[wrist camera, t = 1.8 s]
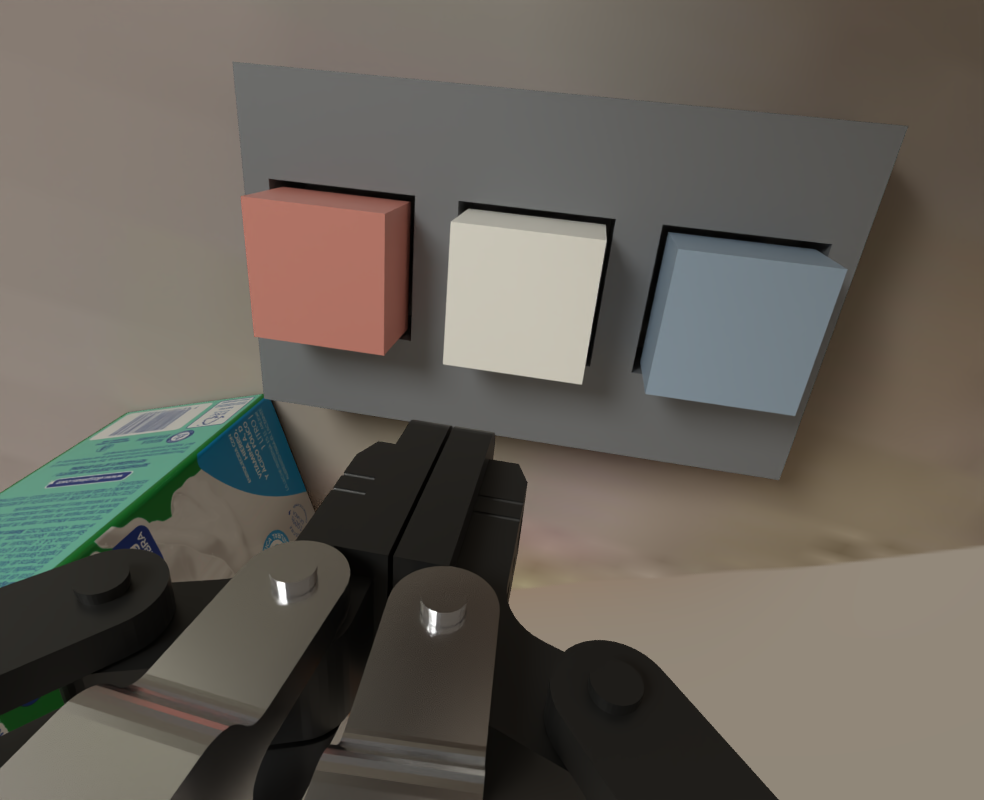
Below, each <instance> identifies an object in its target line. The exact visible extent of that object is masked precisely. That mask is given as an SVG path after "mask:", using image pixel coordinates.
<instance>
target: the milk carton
mask: <svg viewBox="0 0 984 800" xmlns="http://www.w3.org/2000/svg"><path fill="white" fill-rule="evenodd" d="M314 514H315V511H314V509H313V506H312V504H311V501H310V499H309V496H308V494H307V491H306V488H305V486H304V483H303V481H302V478H301V476H300V473H299V471H298V468H297V465H296V463H295V460H294V458H293V455H292V453H291V450H290V448H289V445H288V442H287V440H286V437H285V435H284V432H283V430H282V427H281V425H280V422H279V419H278V417H277V414H276V412H275V409H274V407H273V404H272V402H271V400H270V399H264V394H260V395H253V396H245V397H238V398H230V399H223V400H216V401H208V402H201V403H194V404H186V405H179V406H172V407H164V408H157V409H150V410H142V411H135V412H128V413H126V414H124V415H122V416H121V417H119V418H118V419H116V420H114V421H113V422H111V423H110V424H108V425H107V426H105V427H103V428H102V429H100V430H99V431H97V432H96V433H94V434H92V435H91V436H89V437H88V438H86V439H84V440H83V441H81V442H80V443H78V444H77V445H75V446H73V447H72V448H70V449H69V450H67V451H66V452H64V453H62V454H61V455H59V456H58V457H56V458H54V459H53V460H51V461H50V462H48V463H47V464H45V465H43V466H42V467H40V468H39V469H37V470H35V471H34V472H32V473H31V474H29V475H28V476H26V477H24V478H23V479H21V480H20V481H18V482H17V483H15V484H13V485H12V486H10V487H9V488H7V489H5V490H4V491H2V492H1V493H0V587H3V586H6V585H9V584H12V583H14V582H17V581H20V580H23V579H26V578H29V577H31V576H34V575H37V574H40V573H43V572H46V571H48V570H51V569H54V568H57V567H60V566H62V565H65V564H68V563H71V562H74V561H77V560H79V559H82V558H85V557H88V556H91V555H94V554H97V553H101V552H105V551H110V550H117V549H142V550H146V551H150V552H153V553H155V554H157V555H159V556H160V557H162V558H163V559H164V560H165V562H166V563H167V565H168V568H169V571H170V576H171V581H172V582H186V581H202V580H218V579H228V578H233V577H234V576H235V574H236V573H237V572H238V571H239V570H240V569H241V568H242V567H243V566H244V565H245V564H246V563H247V562H248V561H249V560H250V559H251V558H252V557H254V556H255V555H256V554H258V553H260V552H261V551H263V550H265V549H267V548H270V547H272V546H275V545H278V544H281V543H285V542H291V541H295V540H296V539H297V537H298V536H299V535H300V533H301V532H302V530H303V529H304V528H305V526H306V525H307V523H308V522H309V521H310V519H311V518H312V516H313V515H314ZM62 706H64V702H63V699H62V696H61V694H60V691H59V689H57V690H54V691H52V692H50V693H48V694H46V695H44V696H41V697H39V698H37V699H35V700H33V701H31V702H28V703H26V704H24V705H22V706H20V707H18V708H15V709H13V710H11V711H9V712H7V713H5V714H3V715H0V736H2V735H4V734H6V733H8V732H10V731H13V730H15V729H17V728H19V727H21V726H23V725H25V724H27V723H29V722H31V721H33V720H35V719H38V718H40V717H42V716H44V715H46V714H48V713H50V712H52V711H54V710H56V709H58V708H60V707H62Z"/></svg>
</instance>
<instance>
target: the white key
mask: <svg viewBox="0 0 984 800" xmlns="http://www.w3.org/2000/svg"><path fill="white" fill-rule="evenodd" d="M606 242H607V237H606V224H597V223H589V222H580V221H572V220H563V219H555V218H546V217H538V216H529V215H521V214H512V213H504V212H495V211H487V210H478V209H470V208H469V209H467V210H466V211H465V212H463V213H462V214H461V215H459V216H458V217H456V218H455V219H454V220H452V221H451V226H450V244H449V262H448V280H447V298H446V316H445V335H444V353H443V364H444V365H451V366H458V367H465V368H472V369H478V370H485V371H492V372H499V373H506V374H512V375H519V376H526V377H533V378H540V379H547V380H553V381H560V382H567V383H574V384H581V385H582V381H583V376H584V370H585V364H586V358H587V352H588V346H589V341H590V335H591V329H592V323H593V317H594V312H595V306H596V300H597V294H598V288H599V282H600V277H601V271H602V265H603V259H604V253H605V247H606Z"/></svg>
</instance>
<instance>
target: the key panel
mask: <svg viewBox="0 0 984 800" xmlns="http://www.w3.org/2000/svg"><path fill="white" fill-rule="evenodd" d="M233 72H234V83H235V94H236V104H237V115H238V126H239V136H240V147H241V158H242V168H243V179H244V189H245V195H249V194H253V193H257V192H262V191H266V190H270V189H275V188H279V187H291V188H300V189H308V190H317V191H325V192H334V193H342V194H351V195H359V196H368V197H376V198H385V199H393V200H402V201H410V202H411V214H410V253H409V293H408V329H407V330H406V331H405V332H404V334H403V335H402V336H401V337H400V338H399V339H398V340H397V341H396V343H395V344H394V345H393V346H392V347H391V348H390V349H389V350H388V352H387V353H386V354H385V355H384V356H383V355H376V354H369V353H363V352H356V351H349V350H342V349H335V348H328V347H322V346H315V345H308V344H301V343H294V342H288V341H281V340H274V339H267V338H260V337H258V339H259V349H260V360H261V371H262V381H263V392H264V399H270V400H276V401H282V402H289V403H295V404H301V405H308V406H314V407H320V408H327V409H333V410H339V411H346V412H352V413H358V414H364V415H371V416H377V417H383V418H390V419H396V420H402V421H409V422H410V421H411V420H413V419H414V420H420V421H426V422H433V423H439V424H445V425H452V426H453V427H454V426H459V427H465V428H472V429H478V430H484V431H491V432H495V435H497V436H504V437H510V438H516V439H522V440H529V441H535V442H541V443H548V444H554V445H560V446H567V447H573V448H579V449H586V450H592V451H598V452H605V453H611V454H617V455H624V456H630V457H636V458H643V459H649V460H655V461H662V462H668V463H674V464H681V465H687V466H693V467H699V468H706V469H712V470H718V471H725V472H731V473H737V474H744V475H750V476H756V477H763V478H769V479H775V480H779V479H780V476H781V474H782V471H783V468H784V465H785V463H786V460H787V457H788V454H789V452H790V449H791V446H792V443H793V441H794V438H795V435H796V432H797V430H798V427H799V424H800V421H801V419H802V416H803V413H804V411H805V408H806V405H807V402H808V400H809V397H810V394H811V391H812V389H813V386H814V383H815V380H816V378H817V375H818V372H819V369H820V367H821V364H822V361H823V358H824V356H825V353H826V350H827V347H828V345H829V342H830V339H831V336H832V334H833V331H834V328H835V325H836V323H837V320H838V317H839V314H840V312H841V309H842V306H843V304H844V301H845V298H846V295H847V293H848V290H849V287H850V284H851V282H852V279H853V276H854V273H855V271H856V268H857V265H858V262H859V260H860V257H861V254H862V251H863V249H864V246H865V243H866V240H867V238H868V235H869V232H870V229H871V227H872V224H873V221H874V218H875V216H876V213H877V210H878V208H879V205H880V202H881V199H882V197H883V194H884V191H885V188H886V186H887V183H888V180H889V177H890V175H891V172H892V169H893V166H894V164H895V161H896V158H897V155H898V153H899V150H900V147H901V144H902V142H903V139H904V136H905V133H906V131H907V128H908V126H903V125H892V124H882V123H871V122H861V121H850V120H840V119H829V118H819V117H808V116H798V115H787V114H777V113H766V112H755V111H745V110H734V109H724V108H713V107H703V106H692V105H682V104H671V103H661V102H650V101H640V100H629V99H619V98H608V97H598V96H587V95H577V94H566V93H556V92H545V91H535V90H524V89H513V88H503V87H492V86H482V85H471V84H461V83H450V82H440V81H429V80H419V79H408V78H398V77H387V76H377V75H366V74H356V73H345V72H335V71H324V70H314V69H303V68H293V67H282V66H271V65H261V64H250V63H240V62H233ZM469 208H470V209H478V210H487V211H495V212H504V213H512V214H521V215H529V216H538V217H546V218H555V219H563V220H572V221H580V222H589V223H597V224H606V237H607V242H606V247H605V253H604V259H603V265H602V271H601V277H600V282H599V288H598V294H597V300H596V306H595V312H594V317H593V323H592V329H591V335H590V341H589V346H588V352H587V358H586V364H585V370H584V376H583V381H582V385H581V384H574V383H567V382H560V381H553V380H547V379H540V378H533V377H526V376H519V375H512V374H506V373H499V372H492V371H485V370H478V369H472V368H465V367H458V366H451V365H444V364H443V353H444V335H445V316H446V298H447V280H448V262H449V244H450V226H451V221H452V220H454V219H455V218H456V217H458V216H459V215H461V214H462V213H463V212H465V211H466V210H467V209H469ZM668 232H674V233H682V234H691V235H699V236H708V237H716V238H725V239H733V240H742V241H750V242H759V243H767V244H776V245H784V246H793V247H801V248H810V249H816V250H817V251H819V252H821V253H822V254H824V255H825V256H827V257H829V258H830V259H832V260H833V261H835V262H837V263H838V264H840V265H841V266H843V267H844V268H846V269H848V270H847V273H846V275H845V278H844V281H843V284H842V286H841V289H840V292H839V295H838V298H837V300H836V303H835V306H834V309H833V312H832V314H831V317H830V320H829V323H828V326H827V328H826V331H825V334H824V337H823V340H822V342H821V345H820V348H819V351H818V353H817V356H816V359H815V362H814V365H813V367H812V370H811V373H810V376H809V379H808V381H807V384H806V387H805V390H804V393H803V395H802V398H801V401H800V404H799V407H798V409H797V412H796V415H795V416H792V415H785V414H778V413H771V412H765V411H758V410H751V409H744V408H737V407H731V406H724V405H717V404H710V403H703V402H696V401H690V400H683V399H676V398H669V397H662V396H656V395H649V394H645V389H644V382H643V376H642V370H641V364H640V360H641V355H642V351H643V346H644V342H645V337H646V332H647V328H648V323H649V318H650V314H651V309H652V305H653V300H654V295H655V291H656V286H657V281H658V277H659V272H660V267H661V263H662V258H663V254H664V249H665V244H666V240H667V235H668Z"/></svg>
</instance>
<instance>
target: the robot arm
mask: <svg viewBox="0 0 984 800" xmlns="http://www.w3.org/2000/svg"><path fill="white" fill-rule="evenodd" d="M494 445H495V432H491V431H484V430H478V429H472V428H465V427H459V426H454V427H453V426H452V425H445V424H439V423H433V422H426V421H420V420H414V419H413V420H411V421H410V422H409V424H408V425H407V427H406V429H405V430H404V432H403V434H402V435H401V437H400V438H399V440H398V442H397V443H396V444H391V443H385V442H379V441H378V442H377V443H375V444H373V445H372V446H370V447H368V448H367V449H365V450H363V451H362V452H360V453H358V454H357V455H356V456H355V457H354V459H353V460H352V462H351V463H350V465H349V466H348V467H347V469H346V470H345V472H344V476H343V475H342V476H341V477H340V479H339V480H338V481H337V483H336V484H335V486H334V489H333V490H331V491H330V493H329V494H328V495H327V497H326V498H325V500H324V501H323V502H322V504H321V505H320V507H319V508H318V509H317V511H316V512H315V514H314V515H313V516H312V518H311V519H310V521H309V522H308V523H307V525H306V526H305V528H304V529H303V530H302V532H301V533H300V535H299V536H298V537H297V539H296V540H295V541H291V542H285V543H281V544H278V545H275V546H272V547H270V548H267V549H265V550H263V551H261V552H260V553H258V554H256V555H255V556H254V557H252V558H251V559H250V560H249V561H248V562H247V563H246V564H245V565H244V566H243V567H242V568H241V569H240V570H239V571H238V572H237V573H236V574H235V576H234V577H233V578H228V579H218V580H202V581H186V582H172V581H171V576H170V571H169V568H168V565H167V563H166V562H165V560H164V559H163V558H162V557H160V556H159V555H157V554H155V553H153V552H150V551H146V550H142V549H117V550H110V551H105V552H101V553H97V554H94V555H91V556H88V557H85V558H82V559H79V560H77V561H74V562H71V563H68V564H65V565H62V566H60V567H57V568H54V569H51V570H48V571H46V572H43V573H40V574H37V575H34V576H31V577H29V578H26V579H23V580H20V581H17V582H14V583H12V584H9V585H6V586H3V587H0V715H3V714H5V713H7V712H9V711H11V710H13V709H15V708H18V707H20V706H22V705H24V704H26V703H28V702H31V701H33V700H35V699H37V698H39V697H41V696H44V695H46V694H48V693H50V692H52V691H54V690H57V689H59V691H60V694H61V696H62V699H63V702H64V706H62V707H60V708H58V709H56V710H54V711H52V712H50V713H48V714H46V715H44V716H42V717H40V718H38V719H35V720H33V721H31V722H29V723H27V724H25V725H23V726H21V727H19V728H17V729H15V730H13V731H10V732H8V733H6V734H4V735H2V736H0V800H778V799H777V797H776V796H775V795H774V794H773V793H772V792H771V791H770V790H769V788H768V787H766V785H765V784H764V783H763V782H762V781H761V780H760V778H759V777H758V776H757V775H756V774H755V773H754V772H753V771H752V770H751V768H749V766H748V765H747V764H746V763H745V762H744V761H743V760H742V758H741V757H740V756H739V755H738V754H737V753H736V752H735V751H734V750H733V749H732V747H730V745H729V744H728V743H727V742H726V741H725V740H724V739H723V737H722V736H721V735H720V734H719V733H718V732H717V731H716V730H715V729H714V727H713V726H712V725H711V724H710V723H709V722H708V721H707V720H706V718H705V717H704V716H703V715H702V714H701V713H700V712H699V711H698V709H697V708H696V707H695V706H694V705H693V704H692V703H691V702H690V701H689V700H688V698H687V697H686V696H685V695H684V694H683V693H682V692H681V691H680V690H679V688H678V687H677V686H676V685H675V684H674V683H673V682H672V681H671V679H670V678H669V677H668V676H667V675H666V674H665V673H664V672H663V671H662V670H661V668H660V667H658V665H656V664H655V663H654V662H653V661H652V660H651V659H649V658H648V657H647V656H646V655H644V654H642V653H641V652H639V651H637V650H636V649H633V648H631V647H629V646H626V645H624V644H620V643H617V642H612V641H605V640H594V641H586V642H582V643H579V644H576V645H574V646H572V647H570V648H568V649H567V650H566V651H565V652H563V651H561V650H559V649H557V648H555V647H553V646H551V645H549V644H547V643H545V642H544V641H542V640H540V639H538V638H537V637H535V636H533V635H532V634H531V633H530V632H528V631H527V630H526V629H525V628H524V627H523V626H522V625H521V624H520V623H519V622H518V621H517V619H516V618H515V616H514V615H513V613H512V611H511V609H510V607H509V604H508V602H509V597H510V591H511V586H512V581H513V575H514V570H515V565H516V559H517V554H518V548H519V540H520V533H521V526H522V518H523V511H524V504H525V497H526V489H527V481H526V478H525V476H524V474H523V472H522V470H521V468H520V466H519V464H515V463H509V462H503V461H497V460H493V455H494Z"/></svg>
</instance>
